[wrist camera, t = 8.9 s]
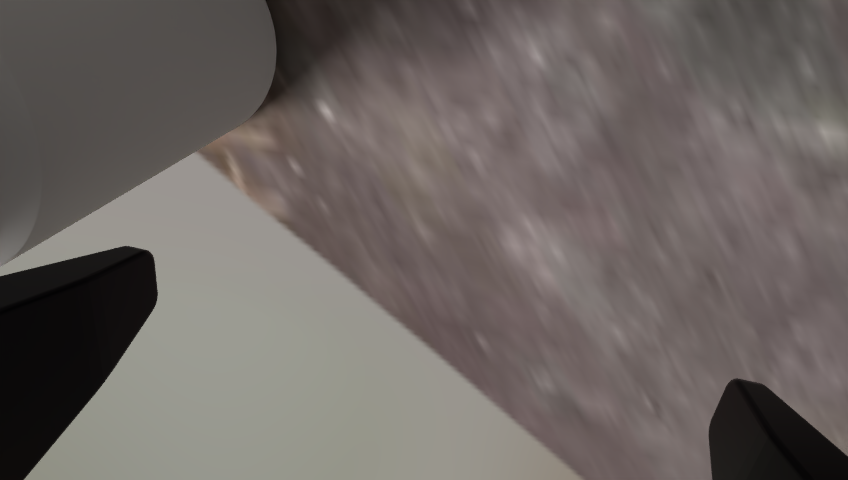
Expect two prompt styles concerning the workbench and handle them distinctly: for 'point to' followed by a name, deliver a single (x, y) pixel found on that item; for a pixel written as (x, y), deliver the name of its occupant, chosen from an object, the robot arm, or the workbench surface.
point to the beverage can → (116, 98)
